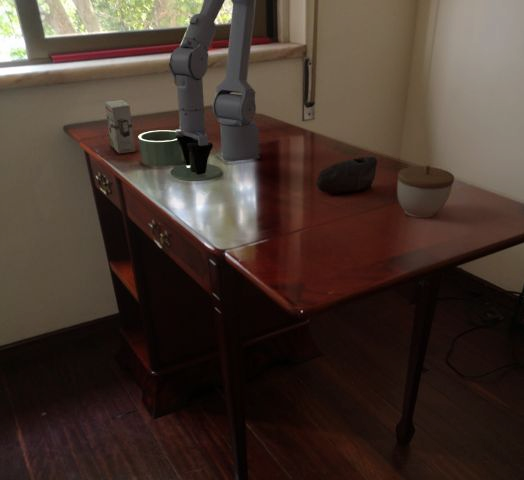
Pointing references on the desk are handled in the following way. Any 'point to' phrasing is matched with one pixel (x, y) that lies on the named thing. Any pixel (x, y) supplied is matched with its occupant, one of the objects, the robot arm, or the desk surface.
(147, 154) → the bowl
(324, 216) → the desk surface
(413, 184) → the trinket box
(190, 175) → the lid
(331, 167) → the perforated stone tool
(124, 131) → the ink box
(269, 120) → the desk surface
